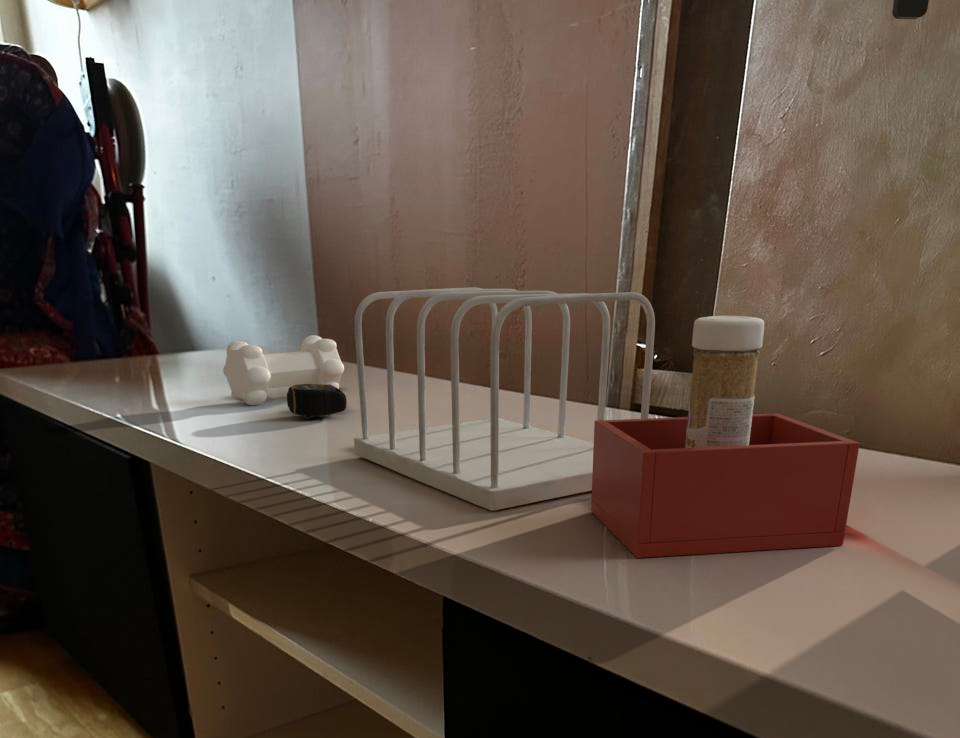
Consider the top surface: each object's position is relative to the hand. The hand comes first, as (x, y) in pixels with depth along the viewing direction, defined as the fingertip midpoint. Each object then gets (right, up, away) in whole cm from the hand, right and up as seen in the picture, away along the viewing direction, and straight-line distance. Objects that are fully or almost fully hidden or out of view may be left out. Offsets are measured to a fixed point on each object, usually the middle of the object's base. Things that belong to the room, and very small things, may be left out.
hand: (947, 1), depth 56 cm
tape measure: (-50, -13, +53) cm, 74 cm away
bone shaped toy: (-58, -8, +66) cm, 88 cm away
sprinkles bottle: (-14, -33, +7) cm, 36 cm away
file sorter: (-29, -26, +25) cm, 46 cm away
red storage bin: (-14, -33, +7) cm, 37 cm away
